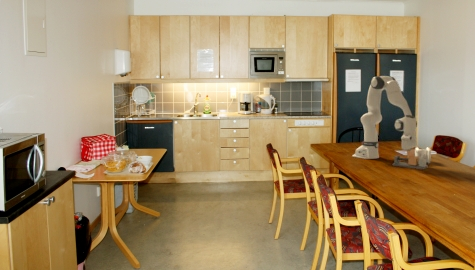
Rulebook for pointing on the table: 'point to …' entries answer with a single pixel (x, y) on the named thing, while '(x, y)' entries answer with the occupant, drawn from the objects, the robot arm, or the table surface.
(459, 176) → the table surface
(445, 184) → the table surface
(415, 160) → the orange piece
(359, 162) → the table surface
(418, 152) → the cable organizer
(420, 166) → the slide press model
